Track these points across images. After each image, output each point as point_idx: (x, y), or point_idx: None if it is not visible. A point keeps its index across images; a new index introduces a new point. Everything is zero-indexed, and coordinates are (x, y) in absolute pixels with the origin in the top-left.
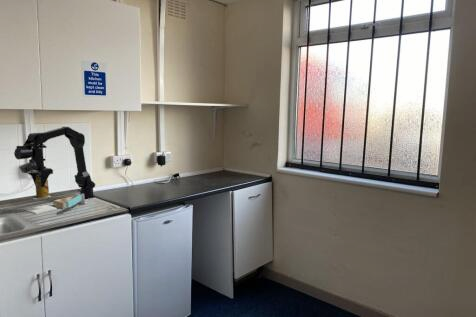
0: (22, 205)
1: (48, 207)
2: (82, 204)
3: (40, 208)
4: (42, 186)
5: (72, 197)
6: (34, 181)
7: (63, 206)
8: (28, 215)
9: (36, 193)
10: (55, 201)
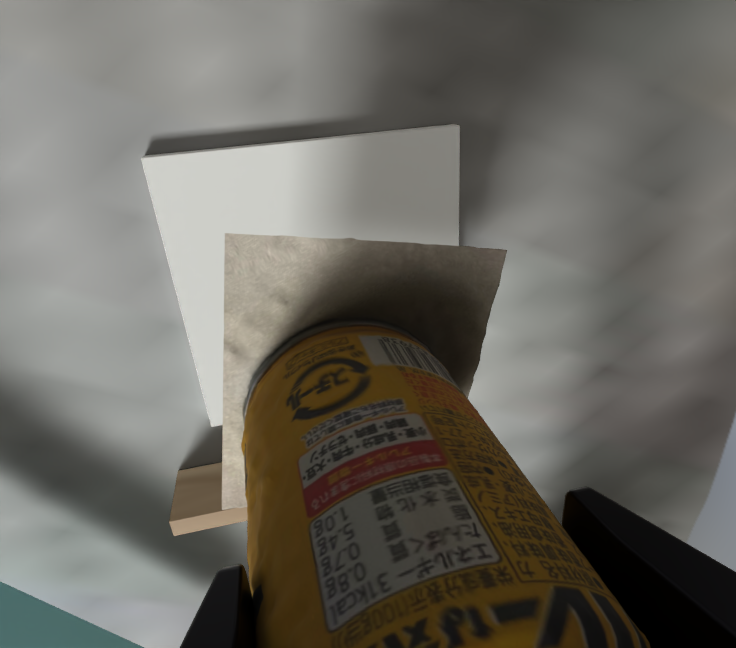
0: (709, 195)
1: None
2: None
3: None
4: (217, 593)
5: None
6: (666, 579)
7: (176, 492)
8: (129, 36)
9: (374, 357)
10: None
